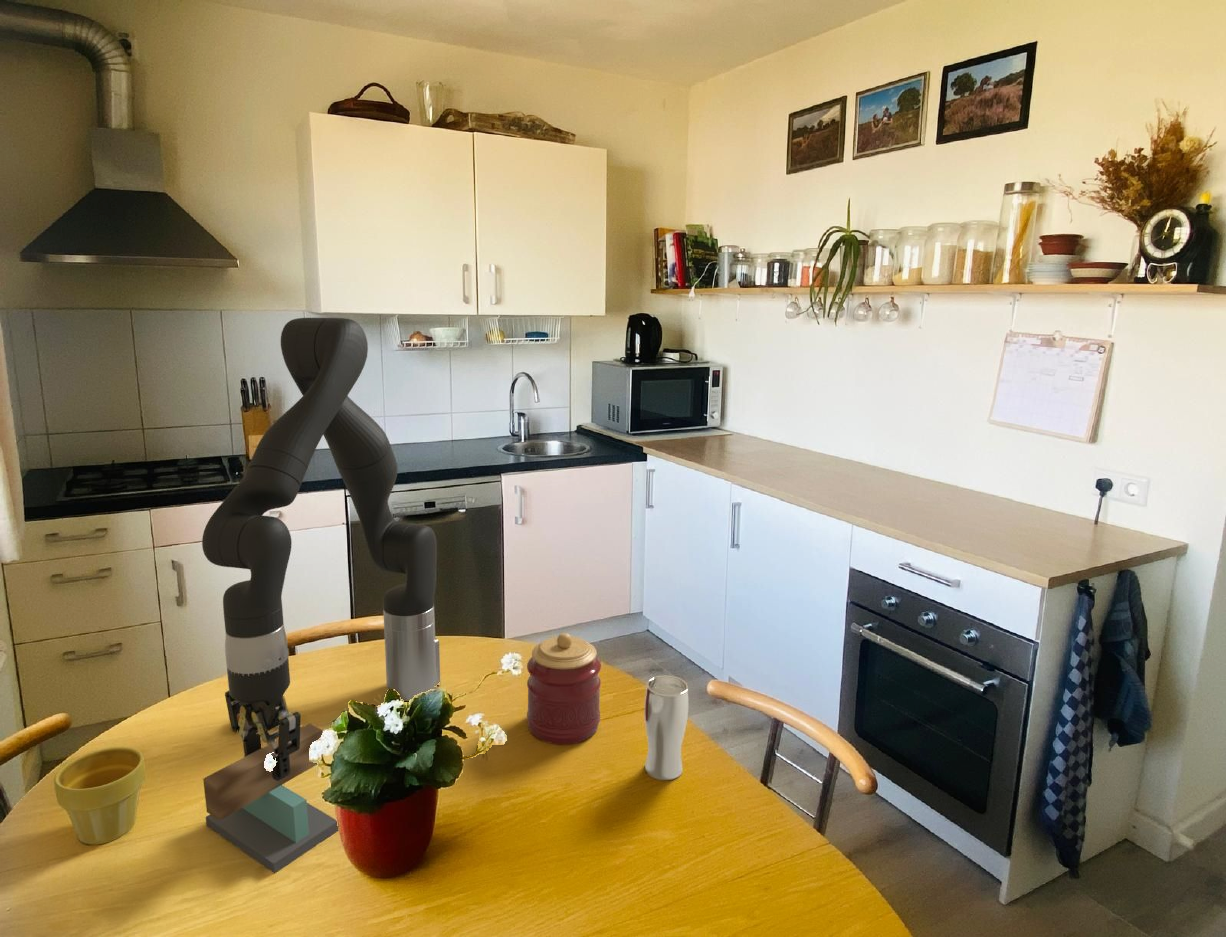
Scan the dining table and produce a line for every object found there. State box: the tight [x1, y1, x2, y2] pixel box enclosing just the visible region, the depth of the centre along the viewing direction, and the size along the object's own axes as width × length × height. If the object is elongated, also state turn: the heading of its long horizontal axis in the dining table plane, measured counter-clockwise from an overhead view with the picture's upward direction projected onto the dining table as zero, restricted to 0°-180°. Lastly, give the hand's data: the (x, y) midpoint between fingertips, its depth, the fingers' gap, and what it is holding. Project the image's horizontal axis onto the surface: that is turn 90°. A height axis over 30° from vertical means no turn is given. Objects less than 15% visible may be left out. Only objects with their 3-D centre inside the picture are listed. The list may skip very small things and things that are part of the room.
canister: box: [526, 632, 602, 745], centre depth 133 cm, size 13×13×18 cm
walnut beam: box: [202, 723, 324, 820], centre depth 105 cm, size 16×3×5 cm, turn 147°
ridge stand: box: [205, 784, 339, 874], centre depth 107 cm, size 10×16×7 cm, turn 57°
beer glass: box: [644, 674, 689, 781], centre depth 122 cm, size 7×7×15 cm
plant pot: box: [53, 746, 146, 845], centre depth 106 cm, size 10×10×10 cm
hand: (267, 768), depth 105 cm, fingers open, 6 cm apart
